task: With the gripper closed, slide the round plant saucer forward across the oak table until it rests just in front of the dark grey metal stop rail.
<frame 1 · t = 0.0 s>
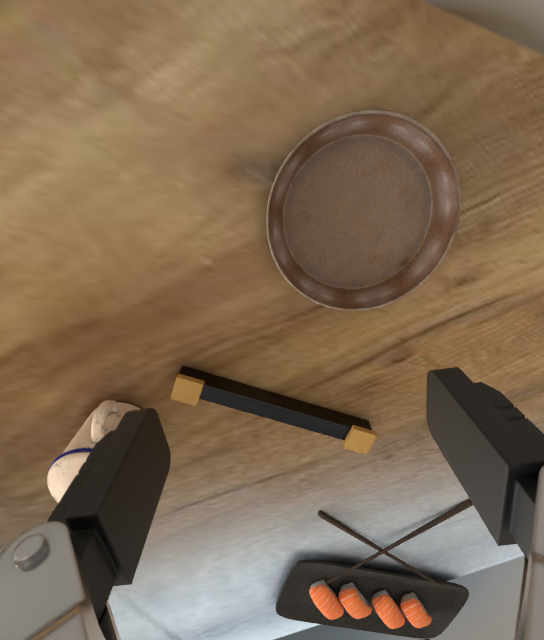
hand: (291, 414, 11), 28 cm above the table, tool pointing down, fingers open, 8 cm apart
sushi plate: (385, 558, 56), on the table
plant saucer: (355, 217, 36), on the table
stop rail: (276, 400, 44), on the table
teacup with lid: (123, 418, 45), on the table
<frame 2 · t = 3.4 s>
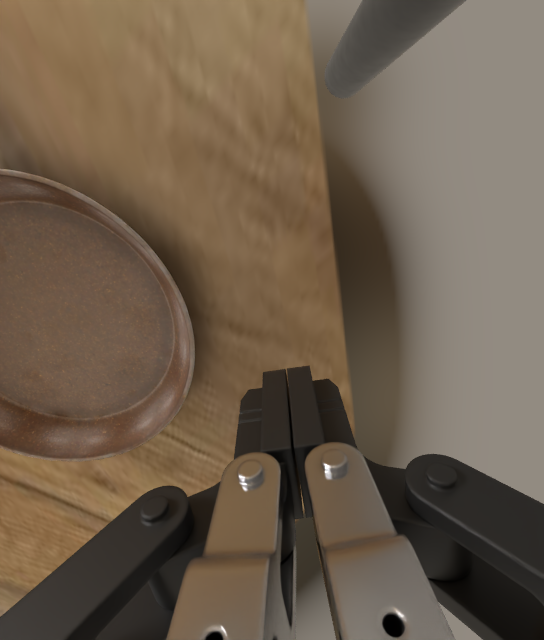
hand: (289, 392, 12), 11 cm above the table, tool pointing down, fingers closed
plant saucer: (63, 319, 23), on the table
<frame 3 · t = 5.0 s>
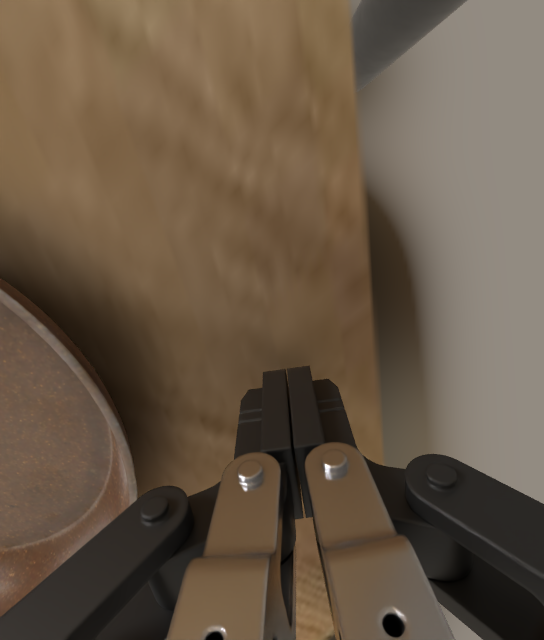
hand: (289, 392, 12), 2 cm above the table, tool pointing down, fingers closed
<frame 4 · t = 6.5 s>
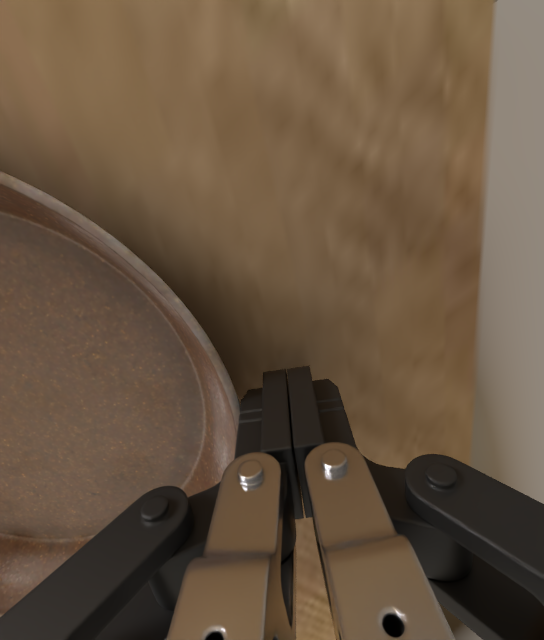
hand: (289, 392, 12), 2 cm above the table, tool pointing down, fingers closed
plant saucer: (23, 395, 14), on the table, touching gripper
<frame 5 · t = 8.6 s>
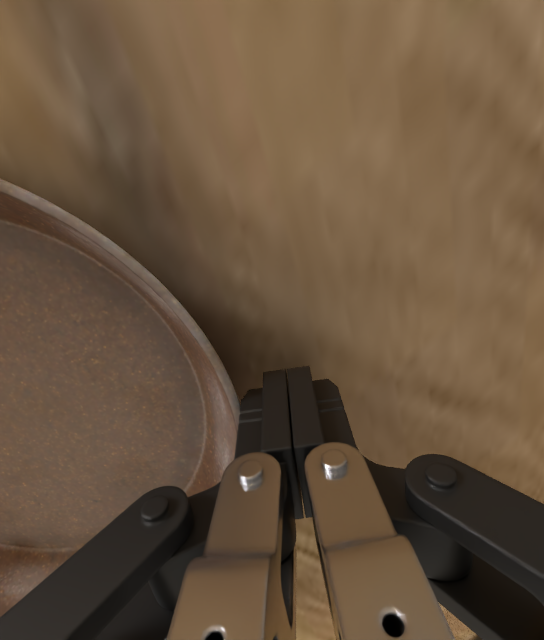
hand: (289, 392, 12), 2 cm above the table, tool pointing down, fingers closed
plant saucer: (22, 403, 14), on the table, touching gripper
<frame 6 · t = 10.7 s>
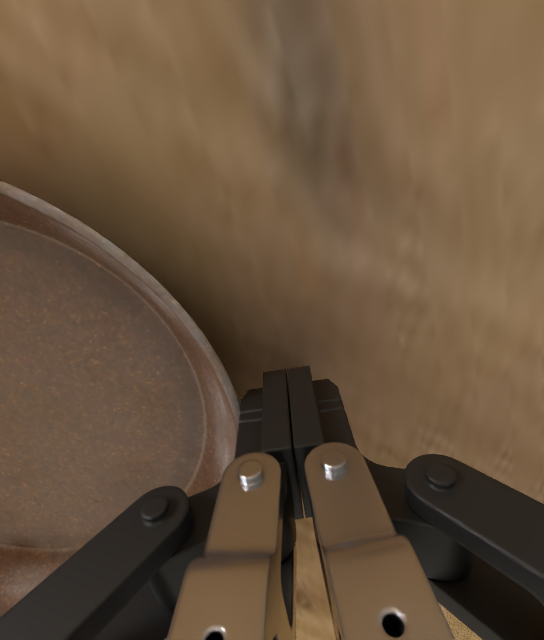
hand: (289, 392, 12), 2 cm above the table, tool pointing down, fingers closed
plant saucer: (22, 404, 14), on the table, touching gripper
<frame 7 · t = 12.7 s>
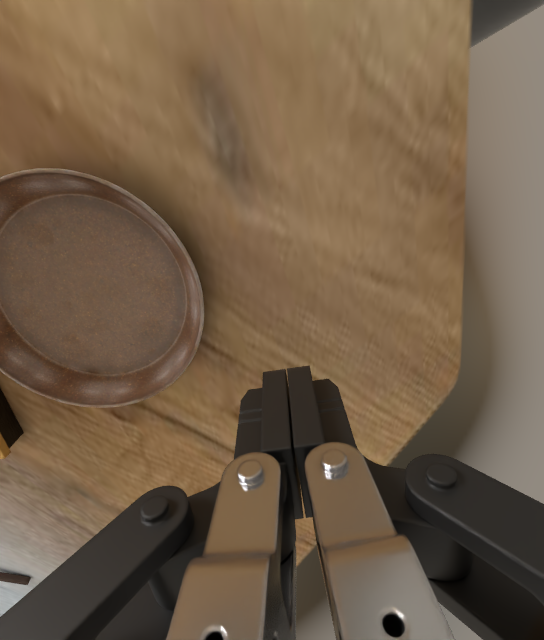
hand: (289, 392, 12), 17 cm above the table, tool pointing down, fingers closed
plant saucer: (96, 291, 28), on the table
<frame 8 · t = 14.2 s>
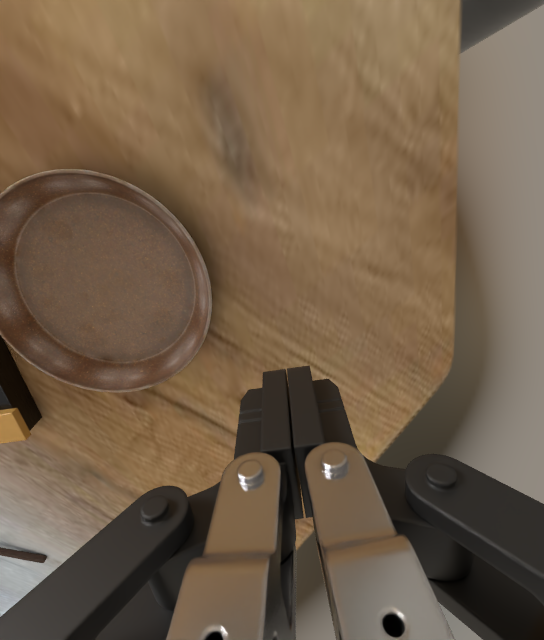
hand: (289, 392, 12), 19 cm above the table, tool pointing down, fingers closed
plant saucer: (111, 283, 30), on the table
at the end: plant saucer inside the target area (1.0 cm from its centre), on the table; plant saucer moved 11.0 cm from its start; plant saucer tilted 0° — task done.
